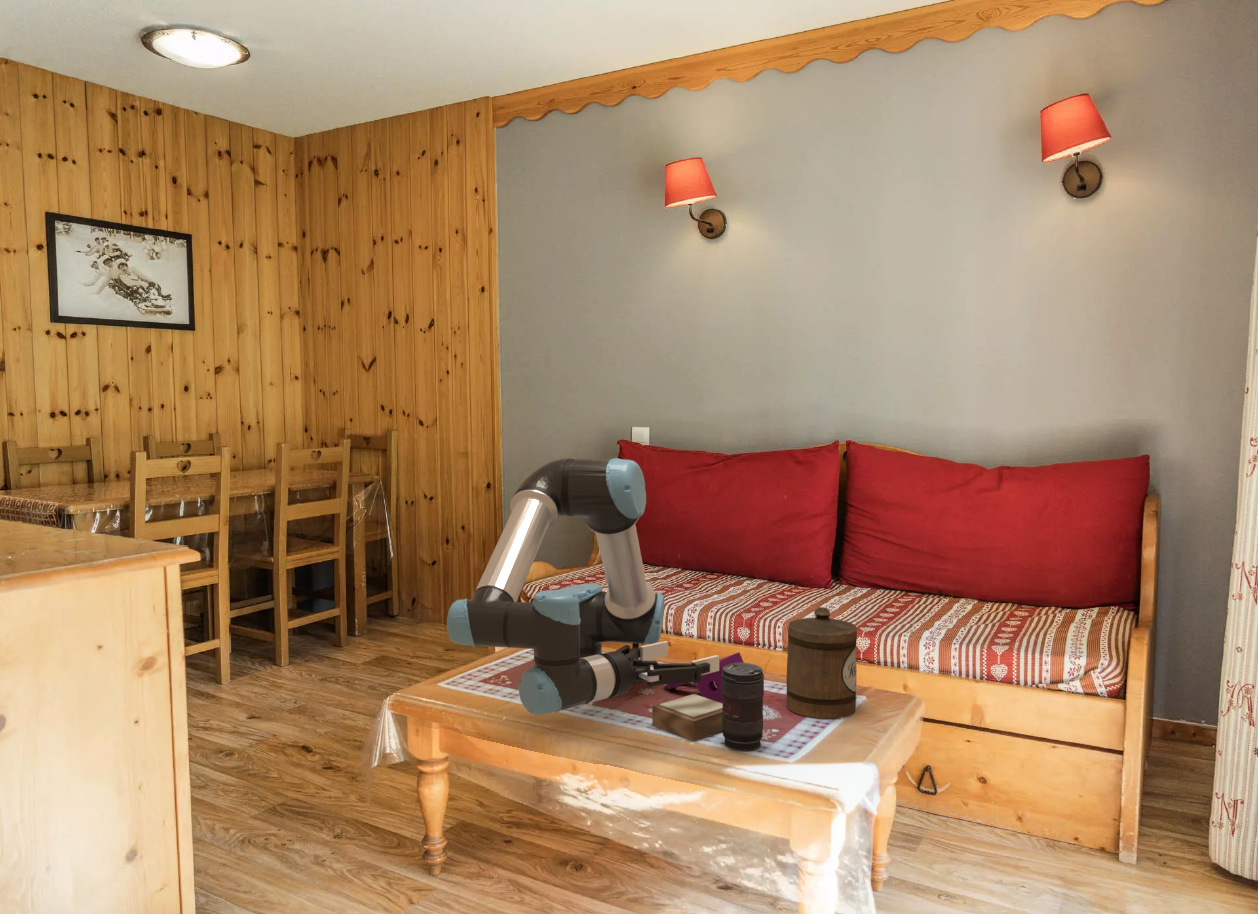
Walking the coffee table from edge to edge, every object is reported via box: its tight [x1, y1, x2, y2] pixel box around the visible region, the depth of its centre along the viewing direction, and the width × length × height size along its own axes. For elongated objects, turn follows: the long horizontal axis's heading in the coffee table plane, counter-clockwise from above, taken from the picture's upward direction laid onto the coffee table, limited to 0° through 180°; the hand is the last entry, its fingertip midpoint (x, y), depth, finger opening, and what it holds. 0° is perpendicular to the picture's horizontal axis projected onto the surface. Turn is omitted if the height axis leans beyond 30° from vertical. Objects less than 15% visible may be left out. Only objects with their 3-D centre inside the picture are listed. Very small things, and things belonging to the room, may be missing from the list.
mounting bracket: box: [666, 652, 745, 703], centre depth 201 cm, size 10×8×18 cm
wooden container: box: [785, 606, 858, 720], centre depth 191 cm, size 15×15×22 cm
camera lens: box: [722, 662, 765, 751], centre depth 169 cm, size 8×8×15 cm
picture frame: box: [651, 693, 723, 742], centre depth 180 cm, size 12×12×4 cm
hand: (691, 655), depth 165 cm, fingers open, 13 cm apart
